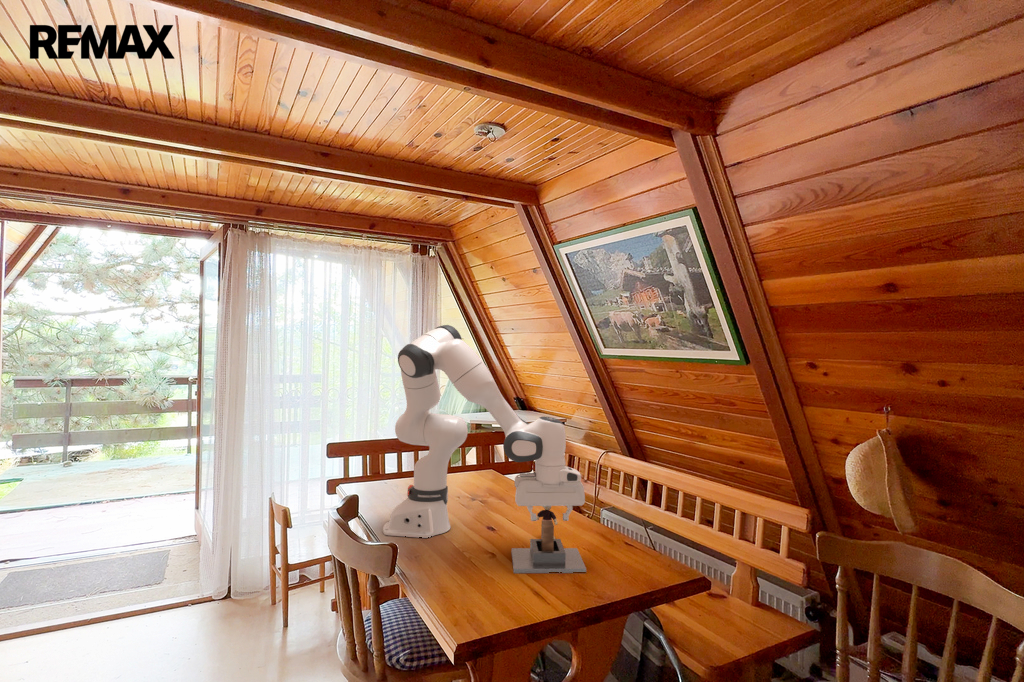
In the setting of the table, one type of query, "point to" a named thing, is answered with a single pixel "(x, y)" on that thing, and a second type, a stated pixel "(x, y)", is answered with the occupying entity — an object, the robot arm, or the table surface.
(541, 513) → the grandmother figurine
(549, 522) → the walnut wedge
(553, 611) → the table surface
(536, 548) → the grey socket base
